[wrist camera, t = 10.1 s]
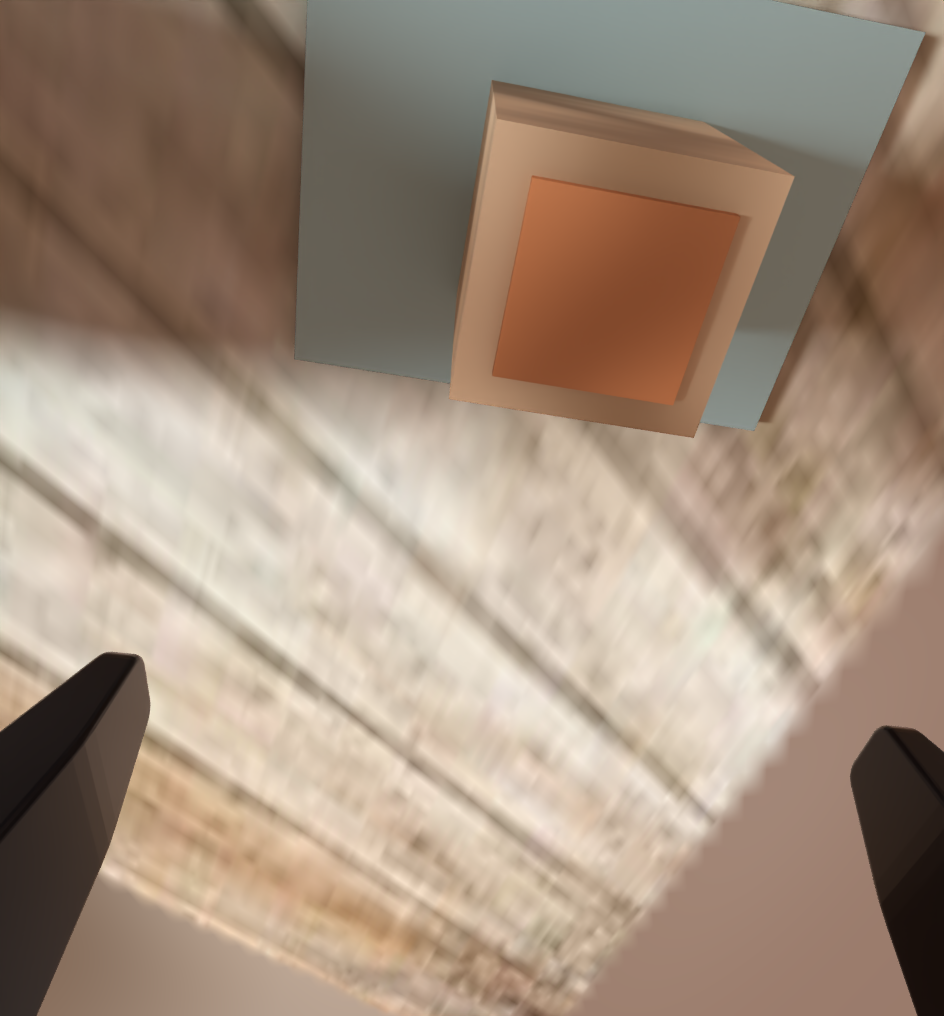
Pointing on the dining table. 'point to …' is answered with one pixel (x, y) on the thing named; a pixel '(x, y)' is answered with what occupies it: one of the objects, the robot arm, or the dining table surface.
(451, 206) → the mat
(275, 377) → the dining table surface
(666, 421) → the labelled block
